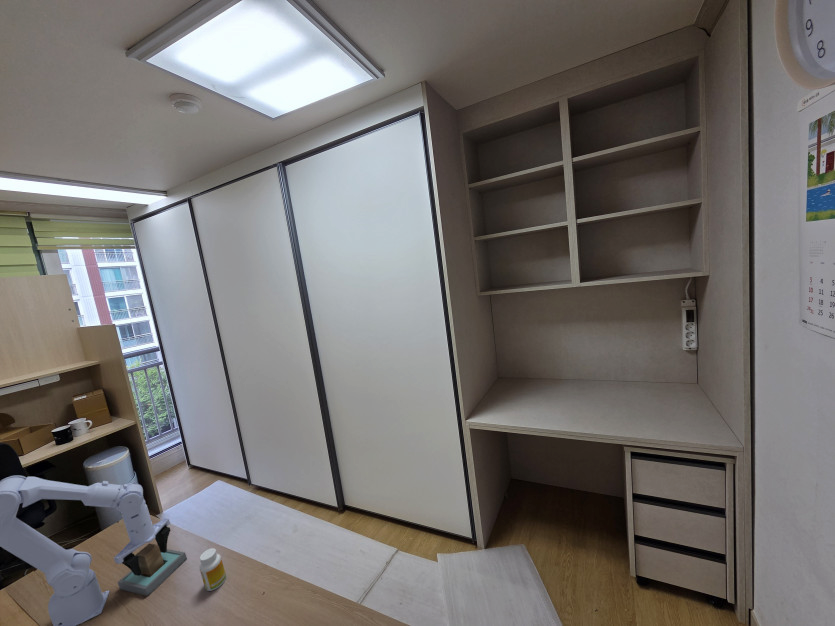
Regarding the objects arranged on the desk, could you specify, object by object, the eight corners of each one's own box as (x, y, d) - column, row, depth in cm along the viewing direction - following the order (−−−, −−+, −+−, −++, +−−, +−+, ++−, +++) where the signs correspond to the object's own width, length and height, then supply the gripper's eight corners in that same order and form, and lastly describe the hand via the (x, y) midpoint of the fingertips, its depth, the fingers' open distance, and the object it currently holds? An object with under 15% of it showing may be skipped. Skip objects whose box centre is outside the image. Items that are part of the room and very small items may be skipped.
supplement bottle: (230, 573, 99) (222, 545, 98) (218, 591, 94) (209, 562, 92) (214, 574, 100) (206, 546, 98) (200, 592, 94) (192, 562, 93)
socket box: (147, 596, 95) (145, 589, 95) (119, 589, 99) (117, 582, 99) (187, 559, 107) (185, 552, 106) (160, 554, 110) (158, 547, 110)
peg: (151, 579, 100) (144, 556, 99) (142, 577, 102) (135, 554, 100) (165, 567, 104) (158, 545, 103) (156, 565, 105) (149, 543, 104)
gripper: (120, 546, 92) (134, 587, 94) (172, 507, 106) (183, 544, 108) (104, 543, 94) (117, 583, 96) (156, 505, 108) (167, 541, 110)
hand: (151, 562), depth 102 cm, fingers open, 7 cm apart
